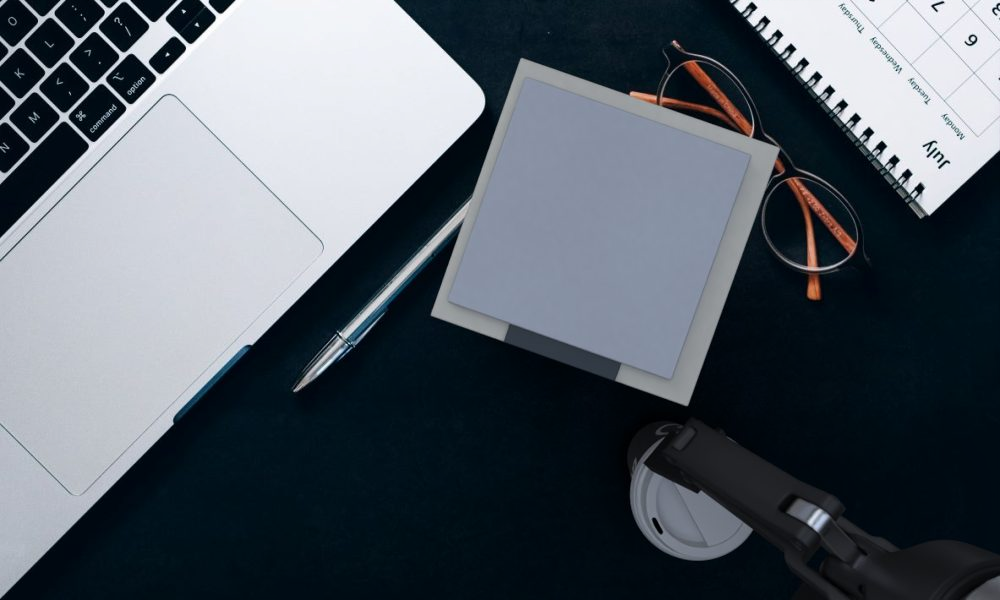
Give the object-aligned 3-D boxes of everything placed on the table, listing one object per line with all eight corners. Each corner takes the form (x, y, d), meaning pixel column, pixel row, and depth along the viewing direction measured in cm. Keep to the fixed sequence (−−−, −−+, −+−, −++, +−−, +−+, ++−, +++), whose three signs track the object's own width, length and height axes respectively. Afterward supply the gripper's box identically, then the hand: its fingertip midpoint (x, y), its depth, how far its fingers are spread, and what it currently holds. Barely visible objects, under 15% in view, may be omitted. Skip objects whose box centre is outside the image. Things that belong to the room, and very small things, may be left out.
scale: (678, 400, 44) (691, 409, 41) (435, 314, 44) (428, 316, 41) (766, 155, 44) (786, 144, 40) (520, 69, 44) (520, 52, 41)
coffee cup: (604, 409, 72) (627, 441, 57) (712, 398, 72) (763, 427, 57) (615, 516, 72) (641, 576, 57) (723, 505, 72) (777, 562, 57)
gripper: (1250, 780, 33) (895, 599, 54) (854, 368, 30) (637, 344, 50) (1149, 936, 32) (826, 690, 53) (725, 526, 28) (557, 435, 49)
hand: (733, 521), depth 52 cm, fingers open, 13 cm apart
